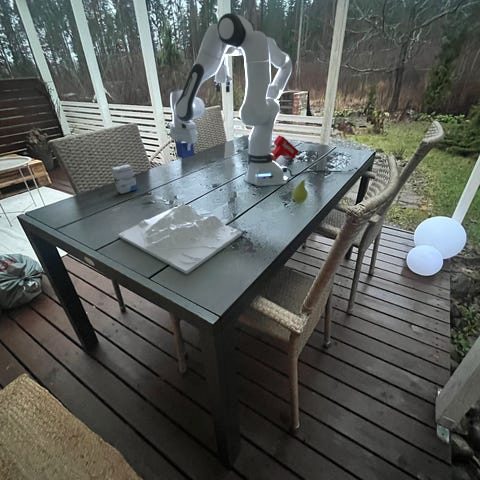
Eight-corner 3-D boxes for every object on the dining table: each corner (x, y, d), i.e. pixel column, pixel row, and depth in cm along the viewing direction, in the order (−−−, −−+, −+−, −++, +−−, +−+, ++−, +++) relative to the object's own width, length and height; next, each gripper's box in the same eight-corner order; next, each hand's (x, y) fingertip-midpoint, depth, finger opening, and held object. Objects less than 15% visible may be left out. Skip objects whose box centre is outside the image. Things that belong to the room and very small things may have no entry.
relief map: (186, 274, 80) (184, 260, 77) (118, 236, 97) (114, 224, 95) (241, 234, 98) (241, 222, 95) (176, 209, 116) (174, 198, 113)
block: (177, 156, 157) (175, 142, 153) (188, 153, 162) (186, 139, 158) (183, 158, 154) (181, 143, 150) (194, 155, 159) (192, 140, 155)
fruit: (288, 200, 123) (290, 174, 116) (302, 197, 125) (305, 172, 119) (296, 206, 118) (299, 179, 111) (310, 203, 120) (314, 177, 114)
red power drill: (268, 157, 168) (282, 135, 165) (265, 155, 171) (278, 134, 168) (286, 171, 180) (299, 151, 177) (282, 169, 183) (295, 150, 180)
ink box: (133, 186, 138) (127, 163, 132) (137, 189, 135) (132, 165, 129) (116, 191, 133) (110, 167, 127) (121, 194, 130) (114, 170, 124)
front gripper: (165, 122, 152) (169, 147, 160) (188, 126, 141) (191, 153, 148) (174, 120, 156) (178, 145, 164) (198, 124, 145) (200, 151, 152)
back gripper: (209, 64, 191) (211, 91, 200) (227, 64, 181) (228, 92, 191) (217, 64, 196) (218, 91, 205) (234, 64, 186) (235, 92, 195)
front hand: (184, 149), depth 156 cm, fingers closed on block, 5 cm apart
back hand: (223, 92), depth 198 cm, fingers open, 9 cm apart
